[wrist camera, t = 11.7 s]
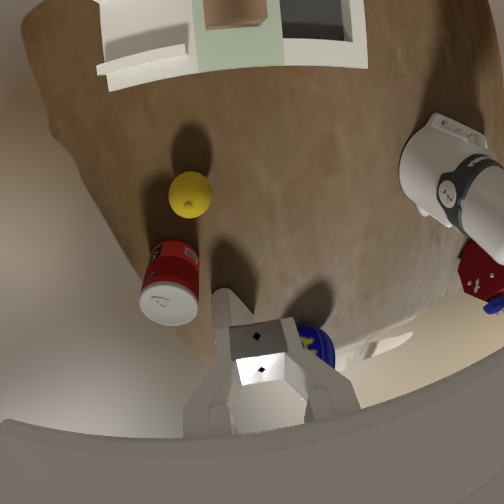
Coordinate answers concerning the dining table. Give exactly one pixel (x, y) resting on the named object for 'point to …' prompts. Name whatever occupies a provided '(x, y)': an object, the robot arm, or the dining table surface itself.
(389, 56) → the dining table surface
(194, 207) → the lemon
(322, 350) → the ornament
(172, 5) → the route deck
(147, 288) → the canned food
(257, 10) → the walnut block
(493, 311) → the alarm clock
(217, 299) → the white rounded block
